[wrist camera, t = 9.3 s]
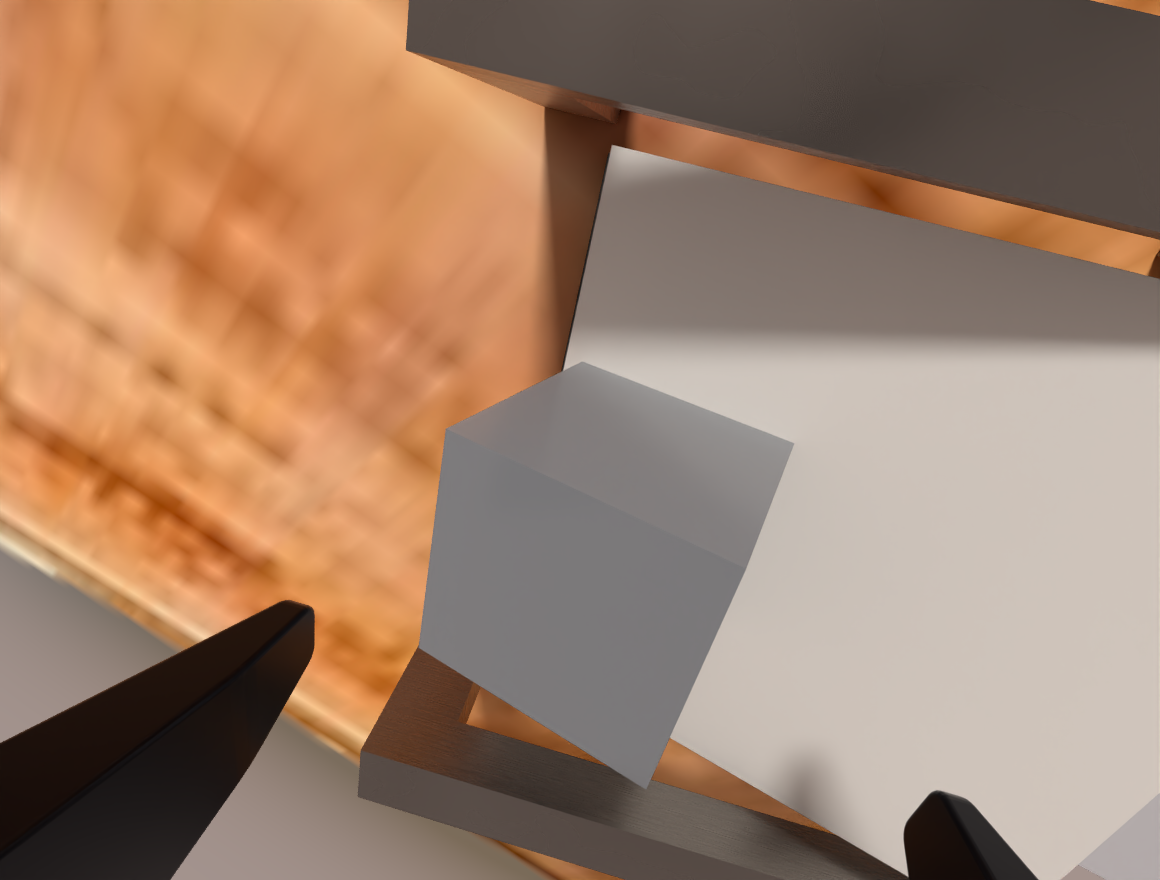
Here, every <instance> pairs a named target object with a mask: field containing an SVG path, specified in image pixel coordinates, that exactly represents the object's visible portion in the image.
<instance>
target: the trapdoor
mask: <svg viewBox="0 0 1160 880" xmlns="http://www.w3.org/2000/svg"><path fill="white" fill-rule="evenodd" d="M582 361H583V362H585V363H588V364H590V365H593V366H596V367H598V368H601V369H603V370H606V371H608V372H611V373H614V374H616V375H619V376H621V377H624V378H627V379H629V380H632V381H634V382H637V383H640V384H642V385H645V386H647V387H650V388H653V389H655V390H658V391H660V392H663V393H666V394H668V395H671V396H673V397H676V398H678V399H681V400H684V401H686V402H689V403H691V404H694V405H697V406H699V407H702V408H704V409H707V410H710V411H712V412H715V413H717V414H720V415H723V416H725V417H728V418H730V419H733V420H735V421H738V422H741V423H743V424H746V425H748V426H751V427H754V428H756V429H759V430H761V431H764V432H767V433H769V434H772V435H774V436H777V437H780V438H782V439H785V440H787V441H790V442H793V443H794V446H793V449H792V451H791V454H790V456H789V459H788V462H787V464H786V467H785V469H784V472H783V475H782V477H781V480H780V482H779V485H778V488H777V490H776V493H775V495H774V498H773V501H772V503H771V506H770V508H769V511H768V514H767V516H766V519H765V521H764V524H763V527H762V529H761V532H760V534H759V537H758V540H757V542H756V545H755V547H754V550H753V553H752V555H751V558H750V560H749V563H748V566H747V568H746V571H745V573H744V575H743V577H742V579H741V582H740V584H739V586H738V588H737V590H736V593H735V595H734V597H733V599H732V601H731V604H730V606H729V608H728V610H727V612H726V615H725V617H724V619H723V621H722V624H721V626H720V628H719V630H718V632H717V635H716V637H715V639H714V641H713V643H712V646H711V648H710V650H709V652H708V654H707V657H706V659H705V661H704V663H703V665H702V668H701V670H700V672H699V674H698V676H697V679H696V681H695V683H694V685H693V687H692V690H691V692H690V694H689V696H688V699H687V701H686V703H685V705H684V707H683V710H682V712H681V714H680V716H679V718H678V721H677V723H676V725H675V727H674V729H673V732H672V734H671V736H670V738H671V739H673V740H675V741H676V742H678V743H680V744H682V745H683V746H685V747H687V748H688V749H690V750H692V751H694V752H695V753H697V754H699V755H700V756H702V757H704V758H706V759H707V760H709V761H711V762H712V763H714V764H716V765H718V766H719V767H721V768H723V769H724V770H726V771H728V772H730V773H731V774H733V775H735V776H736V777H738V778H740V779H742V780H743V781H745V782H747V783H748V784H750V785H752V786H754V787H755V788H757V789H759V790H760V791H762V792H764V793H766V794H767V795H769V796H771V797H772V798H774V799H776V800H778V801H779V802H781V803H783V804H784V805H786V806H788V807H790V808H791V809H793V810H795V811H796V812H798V813H800V814H802V815H803V816H805V817H807V818H808V819H810V820H812V821H814V822H815V823H817V824H819V825H820V826H822V827H824V828H826V829H827V830H829V831H831V832H832V833H834V834H836V835H838V836H839V837H841V838H843V839H844V840H846V841H848V842H850V843H851V844H853V845H855V846H856V847H858V848H860V849H862V850H863V851H865V852H867V853H868V854H870V855H872V856H874V857H875V858H877V859H879V860H880V861H882V862H884V863H886V864H887V865H889V866H891V867H892V868H894V869H896V870H898V871H899V872H901V873H903V874H904V875H906V876H908V870H907V863H906V856H905V848H904V840H903V834H904V827H905V824H906V822H907V820H908V819H909V817H910V816H911V815H912V814H913V813H914V811H915V810H916V809H917V808H918V807H919V805H920V804H921V803H922V802H923V801H924V799H925V798H926V797H927V796H928V795H929V794H930V793H931V792H932V791H936V790H941V791H944V792H948V793H951V794H954V795H958V796H961V797H964V798H966V799H967V800H969V801H970V802H971V803H972V804H973V805H974V806H975V807H976V808H977V809H978V810H979V811H980V813H981V814H982V815H983V816H984V817H985V818H986V820H987V821H988V822H989V823H990V824H991V825H992V826H993V828H994V829H995V830H996V831H997V832H998V833H999V835H1000V836H1001V837H1002V838H1003V839H1004V840H1005V841H1006V843H1007V844H1008V845H1009V846H1010V847H1011V848H1012V850H1013V851H1014V852H1015V853H1016V854H1017V855H1018V856H1019V858H1020V859H1021V860H1022V861H1023V862H1024V863H1025V865H1026V866H1027V867H1028V868H1029V869H1030V870H1031V871H1032V873H1033V874H1034V875H1035V876H1036V877H1037V878H1038V880H1061V879H1062V878H1063V877H1064V876H1065V875H1067V874H1068V873H1069V872H1070V871H1071V870H1072V869H1074V868H1075V867H1076V866H1077V865H1079V866H1081V867H1083V868H1084V869H1087V870H1088V871H1090V872H1092V873H1094V874H1096V875H1098V876H1100V877H1102V878H1103V879H1105V880H1160V279H1158V278H1154V277H1150V276H1146V275H1142V274H1138V273H1133V272H1129V271H1125V270H1121V269H1117V268H1113V267H1109V266H1105V265H1101V264H1097V263H1093V262H1089V261H1084V260H1080V259H1076V258H1072V257H1068V256H1064V255H1060V254H1056V253H1052V252H1048V251H1044V250H1040V249H1035V248H1031V247H1027V246H1023V245H1019V244H1015V243H1011V242H1007V241H1003V240H999V239H995V238H991V237H986V236H982V235H978V234H974V233H970V232H966V231H962V230H958V229H954V228H950V227H946V226H941V225H937V224H933V223H929V222H925V221H921V220H917V219H913V218H909V217H905V216H901V215H897V214H892V213H888V212H884V211H880V210H876V209H872V208H868V207H864V206H860V205H856V204H852V203H848V202H843V201H839V200H835V199H831V198H827V197H823V196H819V195H815V194H811V193H807V192H803V191H799V190H794V189H790V188H786V187H782V186H778V185H774V184H770V183H766V182H762V181H758V180H754V179H750V178H745V177H741V176H737V175H733V174H729V173H725V172H721V171H717V170H713V169H709V168H705V167H701V166H696V165H692V164H688V163H684V162H680V161H676V160H672V159H668V158H664V157H660V156H656V155H652V154H647V153H643V152H639V151H635V150H631V149H627V148H623V147H619V146H615V145H612V148H611V152H610V157H609V162H608V166H607V171H606V175H605V180H604V185H603V189H602V194H601V198H600V203H599V208H598V212H597V217H596V222H595V226H594V231H593V235H592V240H591V245H590V249H589V254H588V258H587V263H586V268H585V272H584V277H583V282H582V286H581V291H580V295H579V300H578V305H577V309H576V314H575V318H574V323H573V328H572V332H571V337H570V342H569V346H568V351H567V355H566V360H565V365H564V369H563V371H564V370H566V369H568V368H570V367H572V366H574V365H576V364H578V363H580V362H582Z"/></svg>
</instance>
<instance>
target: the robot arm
mask: <svg viewBox="0 0 1160 880" xmlns="http://www.w3.org/2000/svg"><path fill="white" fill-rule="evenodd" d="M314 623H315V615H314V610H313V608H312V607H310V606H309V605H305V604H302V603H298V602H295V601H291V600H284V601H281V602H278V603H276V604H274V605H273V606H271V607H269V608H267V609H265V610H263V611H261V612H259V613H257V614H255V615H253V616H251V617H249V618H247V619H245V620H243V621H241V622H239V623H237V624H235V625H233V626H231V627H229V628H227V629H225V630H223V631H221V632H219V633H217V634H215V635H213V636H211V637H209V638H207V639H205V640H203V641H201V642H199V643H197V644H195V645H193V646H191V647H189V648H187V649H185V650H183V651H181V652H179V653H177V654H176V655H174V656H172V657H170V658H168V659H166V660H164V661H162V662H160V663H158V664H156V665H154V666H152V667H150V668H148V669H146V670H144V671H142V672H140V673H138V674H136V675H134V676H132V677H130V678H128V679H126V680H124V681H122V682H120V683H118V684H116V685H114V686H112V687H110V688H108V689H106V690H104V691H102V692H100V693H98V694H97V695H94V696H93V697H90V698H89V699H86V700H84V701H82V702H81V703H79V704H77V705H75V706H73V707H71V708H69V709H67V710H65V711H63V712H61V713H59V714H57V715H55V716H53V717H51V718H49V719H47V720H45V721H43V722H41V723H39V724H37V725H35V726H33V727H31V728H29V729H27V730H25V731H23V732H21V733H19V734H17V735H15V736H13V737H11V738H9V739H7V740H6V741H3V742H2V743H0V880H171V878H172V877H173V875H174V874H175V872H176V871H177V870H178V868H179V867H180V865H181V864H182V862H183V861H184V859H185V858H186V857H187V855H188V854H189V852H190V851H191V850H192V848H193V847H194V845H195V844H196V843H197V841H198V840H199V838H200V837H201V835H202V834H203V832H204V831H205V830H206V828H207V827H208V825H209V824H210V823H211V821H212V820H213V818H214V817H215V815H216V814H217V813H218V811H219V810H220V808H221V807H222V805H223V804H224V803H225V801H226V800H227V798H228V797H229V796H230V794H231V793H232V791H233V790H234V788H235V787H236V786H237V784H238V783H239V781H240V780H241V778H242V777H243V775H244V774H245V772H246V771H247V769H248V768H249V766H250V765H251V763H252V761H253V760H254V758H255V756H256V755H257V753H258V751H259V750H260V748H261V746H262V745H263V743H264V741H265V739H266V738H267V736H268V734H269V732H270V730H271V729H272V727H273V725H274V723H275V722H276V720H277V718H278V716H279V715H280V713H281V711H282V709H283V708H284V706H285V704H286V702H287V701H288V699H289V697H290V695H291V694H292V692H293V690H294V688H295V686H296V685H297V683H298V681H299V679H300V678H301V676H302V674H303V672H304V671H305V669H306V667H307V665H308V663H309V662H310V659H311V657H312V654H313V651H314ZM903 840H904V848H905V856H906V863H907V870H908V878H909V880H1038V878H1037V877H1036V876H1035V875H1034V874H1033V873H1032V871H1031V870H1030V869H1029V868H1028V867H1027V866H1026V865H1025V863H1024V862H1023V861H1022V860H1021V859H1020V858H1019V856H1018V855H1017V854H1016V853H1015V852H1014V851H1013V850H1012V848H1011V847H1010V846H1009V845H1008V844H1007V843H1006V841H1005V840H1004V839H1003V838H1002V837H1001V836H1000V835H999V833H998V832H997V831H996V830H995V829H994V828H993V826H992V825H991V824H990V823H989V822H988V821H987V820H986V818H985V817H984V816H983V815H982V814H981V813H980V811H979V810H978V809H977V808H976V807H975V806H974V805H973V804H972V803H971V802H970V801H969V800H967V799H966V798H964V797H961V796H958V795H954V794H951V793H948V792H944V791H941V790H936V791H932V792H931V793H930V794H929V795H928V796H927V797H926V798H925V799H924V801H923V802H922V803H921V804H920V805H919V807H918V808H917V809H916V810H915V811H914V813H913V814H912V815H911V816H910V817H909V819H908V820H907V822H906V824H905V827H904V834H903Z"/></svg>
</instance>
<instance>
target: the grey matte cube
mask: <svg viewBox="0 0 1160 880" xmlns="http://www.w3.org/2000/svg"><path fill="white" fill-rule="evenodd" d="M793 446H794V443H793V442H790V441H787V440H785V439H782V438H780V437H777V436H774V435H772V434H769V433H767V432H764V431H761V430H759V429H756V428H754V427H751V426H748V425H746V424H743V423H741V422H738V421H735V420H733V419H730V418H728V417H725V416H723V415H720V414H717V413H715V412H712V411H710V410H707V409H704V408H702V407H699V406H697V405H694V404H691V403H689V402H686V401H684V400H681V399H678V398H676V397H673V396H671V395H668V394H666V393H663V392H660V391H658V390H655V389H653V388H650V387H647V386H645V385H642V384H640V383H637V382H634V381H632V380H629V379H627V378H624V377H621V376H619V375H616V374H614V373H611V372H608V371H606V370H603V369H601V368H598V367H596V366H593V365H590V364H588V363H585V362H583V361H582V362H580V363H578V364H576V365H574V366H572V367H570V368H568V369H566V370H564V371H562V372H560V373H558V374H556V375H554V376H552V377H550V378H548V379H546V380H544V381H542V382H540V383H538V384H536V385H534V386H531V387H529V388H527V389H525V390H523V391H521V392H519V393H517V394H515V395H513V396H511V397H509V398H507V399H505V400H503V401H501V402H499V403H497V404H495V405H493V406H491V407H489V408H487V409H485V410H483V411H481V412H479V413H477V414H475V415H473V416H471V417H469V418H467V419H465V420H463V421H461V422H459V423H457V424H455V425H453V426H451V427H449V428H447V429H446V433H445V441H444V449H443V457H442V465H441V473H440V481H439V489H438V497H437V505H436V513H435V521H434V529H433V537H432V545H431V553H430V561H429V569H428V577H427V585H426V593H425V601H424V609H423V617H422V625H421V633H420V641H419V648H420V649H422V650H423V651H425V652H426V653H428V654H430V655H431V656H433V657H434V658H436V659H438V660H439V661H441V662H442V663H444V664H446V665H447V666H449V667H450V668H452V669H454V670H455V671H457V672H458V673H460V674H462V675H463V676H465V677H466V678H468V679H470V680H471V681H473V682H474V683H476V684H478V685H479V686H481V687H482V688H484V689H486V690H487V691H489V692H490V693H492V694H494V695H495V696H497V697H498V698H500V699H502V700H503V701H505V702H506V703H508V704H510V705H511V706H513V707H514V708H516V709H518V710H519V711H521V712H522V713H524V714H526V715H527V716H529V717H530V718H532V719H534V720H535V721H537V722H538V723H540V724H542V725H543V726H545V727H546V728H548V729H550V730H551V731H553V732H554V733H556V734H558V735H559V736H561V737H562V738H564V739H566V740H567V741H569V742H570V743H572V744H574V745H575V746H577V747H578V748H580V749H582V750H583V751H585V752H586V753H588V754H590V755H591V756H593V757H594V758H596V759H598V760H599V761H601V762H603V763H604V764H606V765H607V766H609V767H611V768H612V769H614V770H615V771H617V772H619V773H620V774H622V775H623V776H625V777H627V778H628V779H630V780H631V781H633V782H635V783H636V784H638V785H639V786H641V787H643V788H644V789H647V787H648V785H649V782H650V780H651V778H652V776H653V774H654V771H655V769H656V767H657V765H658V762H659V760H660V758H661V756H662V754H663V751H664V749H665V747H666V745H667V743H668V740H669V738H670V736H671V734H672V732H673V729H674V727H675V725H676V723H677V721H678V718H679V716H680V714H681V712H682V710H683V707H684V705H685V703H686V701H687V699H688V696H689V694H690V692H691V690H692V687H693V685H694V683H695V681H696V679H697V676H698V674H699V672H700V670H701V668H702V665H703V663H704V661H705V659H706V657H707V654H708V652H709V650H710V648H711V646H712V643H713V641H714V639H715V637H716V635H717V632H718V630H719V628H720V626H721V624H722V621H723V619H724V617H725V615H726V612H727V610H728V608H729V606H730V604H731V601H732V599H733V597H734V595H735V593H736V590H737V588H738V586H739V584H740V582H741V579H742V577H743V575H744V573H745V571H746V568H747V566H748V563H749V560H750V558H751V555H752V553H753V550H754V547H755V545H756V542H757V540H758V537H759V534H760V532H761V529H762V527H763V524H764V521H765V519H766V516H767V514H768V511H769V508H770V506H771V503H772V501H773V498H774V495H775V493H776V490H777V488H778V485H779V482H780V480H781V477H782V475H783V472H784V469H785V467H786V464H787V462H788V459H789V456H790V454H791V451H792V449H793Z"/></svg>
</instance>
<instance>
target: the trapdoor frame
mask: <svg viewBox="0 0 1160 880" xmlns="http://www.w3.org/2000/svg"><path fill="white" fill-rule="evenodd" d="M406 50H407V51H409V52H412V53H414V54H417V55H419V56H421V57H424V58H426V59H429V60H431V61H434V62H436V63H439V64H441V65H443V66H446V67H448V68H451V69H453V70H456V71H458V72H461V73H463V74H465V75H468V76H470V77H473V78H475V79H478V80H480V81H483V82H485V83H488V84H490V85H492V86H495V87H497V88H500V89H502V90H505V91H507V92H510V93H512V94H514V95H517V96H519V97H522V98H524V99H527V100H529V101H532V102H534V103H536V104H539V105H541V106H544V107H548V108H552V109H556V110H560V111H564V112H568V113H572V114H576V115H581V116H585V117H589V118H593V119H597V120H601V121H605V122H609V123H613V124H617V123H618V119H619V114H620V110H621V109H623V110H627V111H631V112H635V113H639V114H643V115H647V116H651V117H656V118H660V119H664V120H668V121H672V122H676V123H680V124H684V125H689V126H693V127H697V128H701V129H705V130H709V131H713V132H718V133H722V134H726V135H730V136H734V137H738V138H742V139H746V140H751V141H755V142H759V143H763V144H767V145H771V146H775V147H779V148H784V149H788V150H792V151H796V152H800V153H804V154H808V155H812V156H817V157H821V158H825V159H829V160H833V161H837V162H841V163H846V164H850V165H854V166H858V167H862V168H866V169H870V170H874V171H879V172H883V173H887V174H891V175H895V176H899V177H903V178H907V179H912V180H916V181H920V182H924V183H928V184H932V185H936V186H940V187H945V188H949V189H953V190H957V191H961V192H965V193H969V194H974V195H978V196H982V197H986V198H990V199H994V200H998V201H1002V202H1007V203H1011V204H1015V205H1019V206H1023V207H1027V208H1031V209H1035V210H1040V211H1044V212H1048V213H1052V214H1056V215H1060V216H1064V217H1068V218H1073V219H1077V220H1081V221H1085V222H1089V223H1093V224H1097V225H1102V226H1106V227H1110V228H1114V229H1118V230H1122V231H1126V232H1130V233H1135V234H1139V235H1143V236H1147V237H1151V238H1155V239H1159V240H1160V16H1157V15H1153V14H1149V13H1144V12H1140V11H1135V10H1131V9H1126V8H1122V7H1117V6H1113V5H1108V4H1104V3H1099V2H1095V1H1090V0H409V10H408V26H407V41H406ZM609 157H610V153H608V157H607V162H606V166H605V171H604V176H603V180H602V185H601V189H600V194H599V199H598V203H597V208H596V213H595V217H594V222H593V227H592V231H591V236H590V241H589V245H588V250H587V255H586V259H585V264H584V268H583V273H582V278H581V282H580V287H579V292H578V296H577V301H576V306H575V310H574V315H573V320H572V324H571V329H570V334H569V338H568V343H567V347H566V352H565V357H564V361H563V366H562V371H563V369H564V365H565V360H566V355H567V351H568V346H569V342H570V337H571V332H572V328H573V323H574V318H575V314H576V309H577V305H578V300H579V295H580V291H581V286H582V282H583V277H584V272H585V268H586V263H587V258H588V254H589V249H590V245H591V240H592V235H593V231H594V226H595V222H596V217H597V212H598V208H599V203H600V198H601V194H602V189H603V185H604V180H605V175H606V171H607V166H608V162H609ZM1157 256H1159V257H1160V252H1159V253H1158V255H1157ZM562 371H561V372H562ZM480 687H481V686H479V685H478V684H476V683H474V682H473V681H471V680H470V679H468V678H466V677H465V676H463V675H462V674H460V673H458V672H457V671H455V670H454V669H452V668H450V667H449V666H447V665H446V664H444V663H442V662H441V661H439V660H438V659H436V658H434V657H433V656H431V655H430V654H428V653H426V652H425V651H423V650H422V649H420V648H419V646H418V648H417V649H416V651H415V653H414V655H413V657H412V658H411V660H410V662H409V664H408V666H407V667H406V669H405V671H404V673H403V675H402V677H401V678H400V680H399V682H398V684H397V686H396V687H395V689H394V691H393V693H392V695H391V696H390V698H389V700H388V702H387V704H386V706H385V707H384V709H383V711H382V713H381V715H380V716H379V718H378V720H377V722H376V724H375V725H374V727H373V729H372V731H371V733H370V735H369V736H368V738H367V740H366V742H365V744H364V745H363V747H362V749H361V755H360V770H359V787H358V797H360V798H363V799H366V800H370V801H373V802H376V803H379V804H382V805H386V806H389V807H392V808H395V809H399V810H402V811H405V812H408V813H411V814H415V815H418V816H421V817H424V818H428V819H431V820H434V821H437V822H441V823H444V824H447V825H450V826H453V827H457V828H460V829H463V830H466V831H470V832H473V833H476V834H479V835H483V836H486V837H489V838H492V839H495V840H499V841H502V842H505V843H508V844H512V845H515V846H518V847H521V848H525V849H528V850H531V851H534V852H537V853H541V854H544V855H547V856H550V857H554V858H557V859H560V860H563V861H567V862H570V863H573V864H576V865H579V866H583V867H586V868H589V869H592V870H596V871H599V872H602V873H605V874H609V875H612V876H615V877H618V878H622V879H625V880H909V878H908V876H906V875H904V874H903V873H901V872H899V871H898V870H896V869H894V868H892V867H891V866H889V865H887V864H886V863H884V862H882V861H880V860H879V859H877V858H875V857H874V856H872V855H870V854H868V853H867V852H865V851H863V850H862V849H860V848H858V847H856V846H855V845H853V844H851V843H850V842H848V841H846V840H844V839H843V838H841V837H839V836H837V835H834V834H830V833H827V832H824V831H820V830H817V829H814V828H810V827H807V826H804V825H800V824H797V823H794V822H790V821H787V820H784V819H780V818H777V817H774V816H770V815H767V814H764V813H760V812H757V811H754V810H750V809H747V808H744V807H740V806H737V805H734V804H730V803H727V802H724V801H720V800H717V799H714V798H710V797H707V796H704V795H700V794H697V793H694V792H690V791H687V790H684V789H680V788H677V787H674V786H670V785H667V784H664V783H660V782H657V781H654V780H650V782H649V785H648V787H647V789H644V788H643V787H641V786H639V785H638V784H636V783H635V782H633V781H631V780H630V779H628V778H627V777H625V776H623V775H622V774H620V773H619V772H617V771H615V770H614V769H612V768H610V767H607V766H604V765H600V764H597V763H594V762H590V761H587V760H584V759H580V758H577V757H574V756H570V755H567V754H564V753H560V752H557V751H554V750H550V749H547V748H544V747H540V746H537V745H534V744H530V743H527V742H524V741H520V740H517V739H514V738H510V737H507V736H504V735H500V734H497V733H494V732H490V731H487V730H484V729H480V728H477V727H474V726H470V725H467V724H466V723H467V720H468V718H469V715H470V713H471V710H472V707H473V705H474V702H475V700H476V697H477V695H478V692H479V689H480Z"/></svg>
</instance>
